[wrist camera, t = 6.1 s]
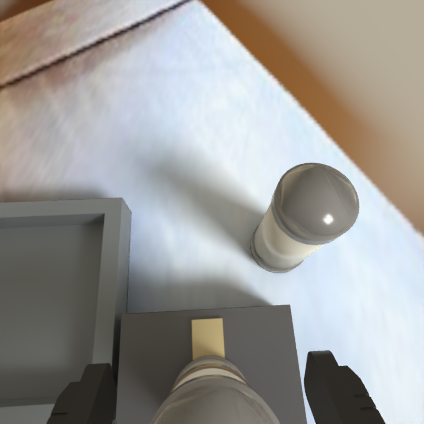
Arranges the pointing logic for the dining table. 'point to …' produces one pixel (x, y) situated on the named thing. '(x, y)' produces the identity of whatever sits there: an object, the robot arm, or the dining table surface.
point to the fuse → (304, 216)
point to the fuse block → (208, 345)
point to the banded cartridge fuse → (213, 396)
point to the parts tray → (59, 298)
